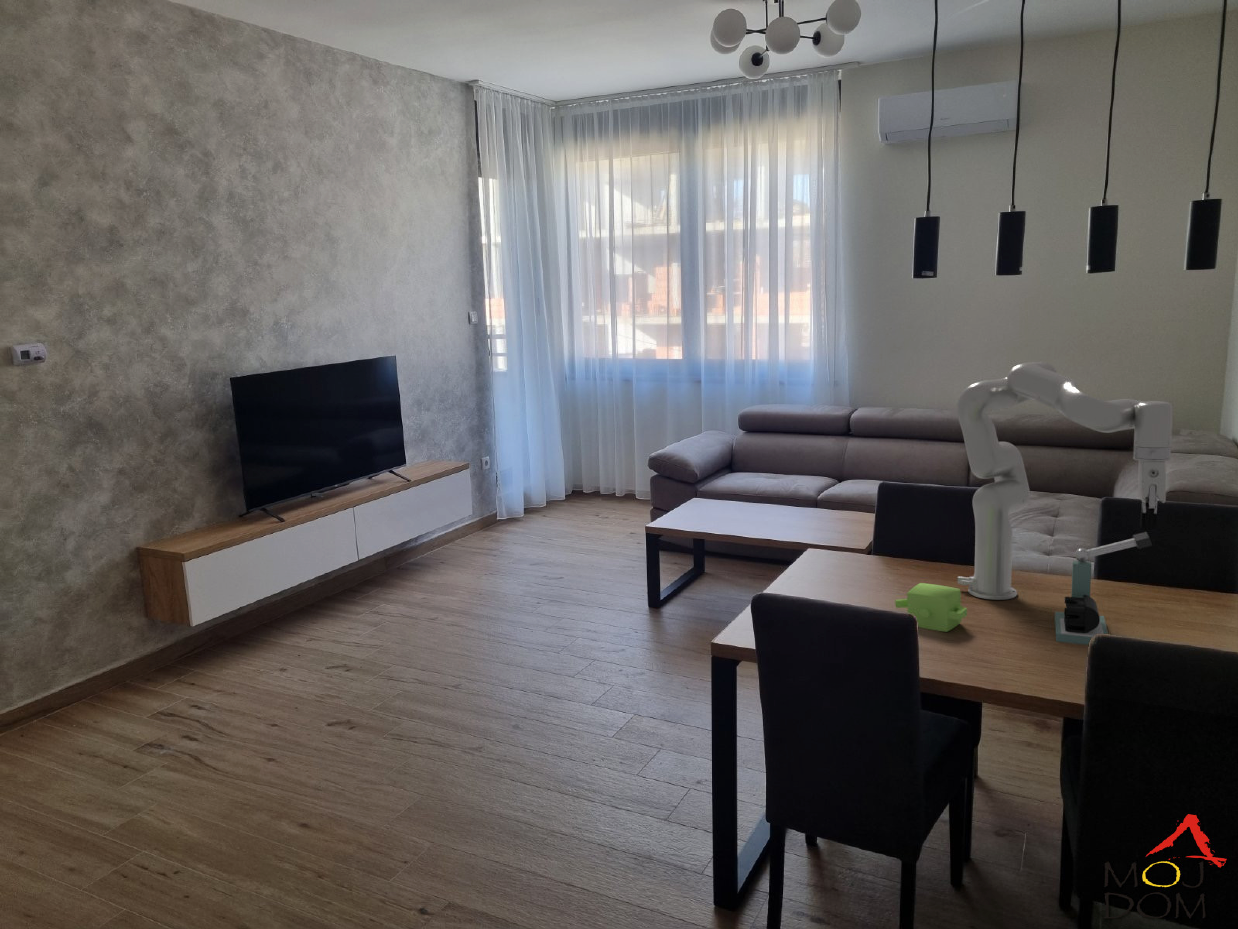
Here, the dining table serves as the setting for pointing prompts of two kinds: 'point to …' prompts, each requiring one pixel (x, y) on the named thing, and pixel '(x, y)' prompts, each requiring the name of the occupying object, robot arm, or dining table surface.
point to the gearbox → (934, 606)
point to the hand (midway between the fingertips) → (1148, 528)
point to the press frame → (1079, 588)
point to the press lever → (1114, 547)
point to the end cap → (1080, 614)
